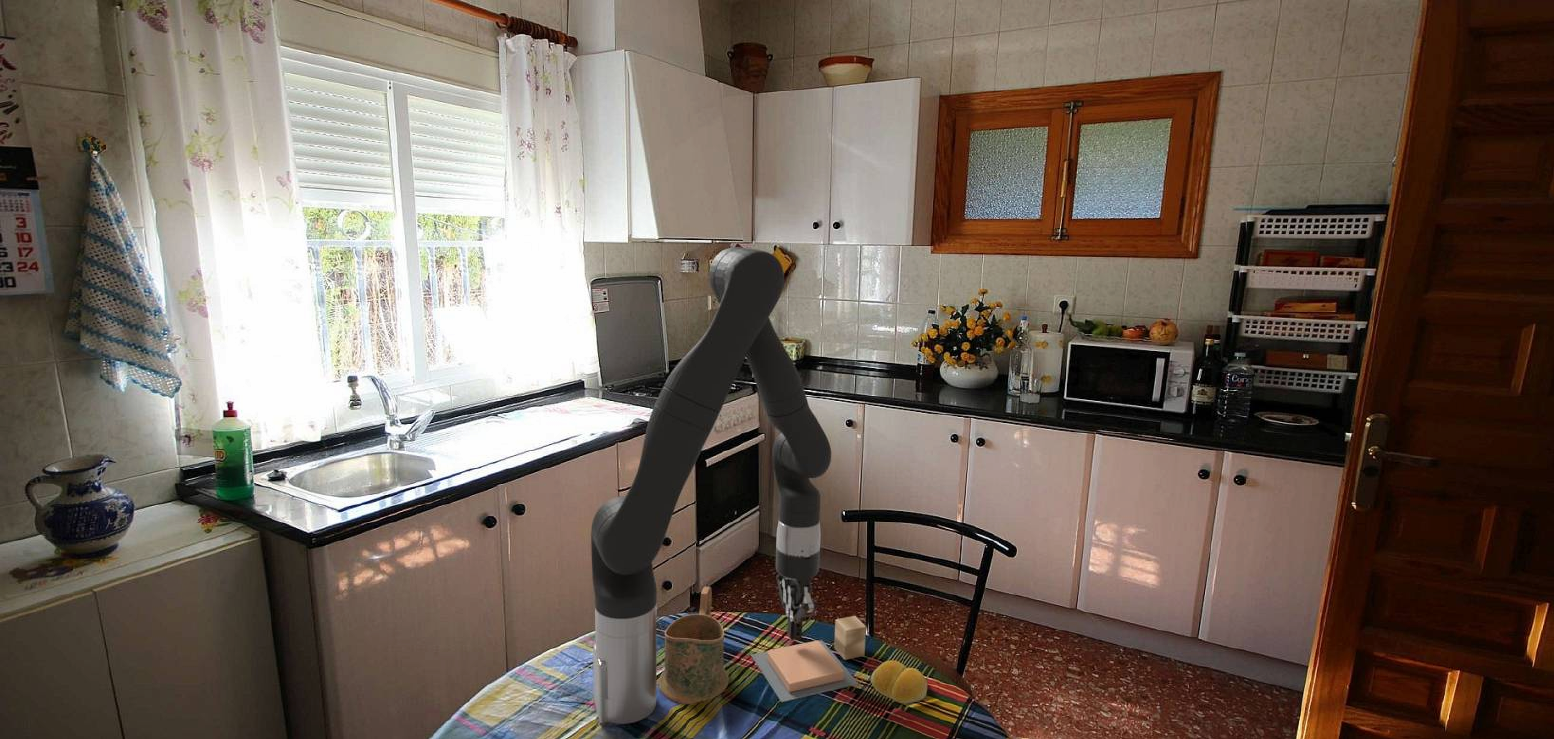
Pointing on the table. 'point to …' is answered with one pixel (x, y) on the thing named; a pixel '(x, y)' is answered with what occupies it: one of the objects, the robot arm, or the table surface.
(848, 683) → the mat
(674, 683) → the mug
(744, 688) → the table surface
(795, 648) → the tile
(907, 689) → the bread roll
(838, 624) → the block
